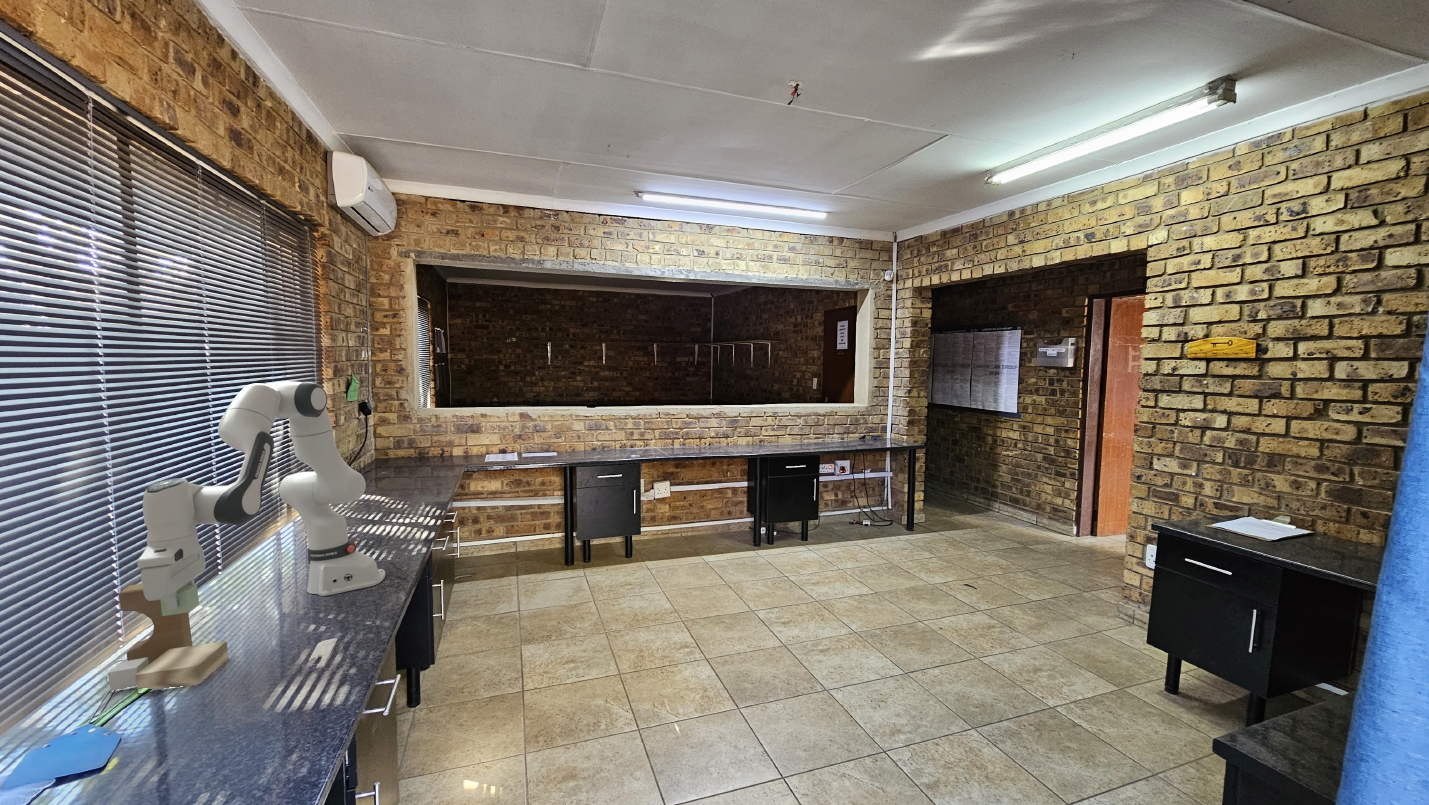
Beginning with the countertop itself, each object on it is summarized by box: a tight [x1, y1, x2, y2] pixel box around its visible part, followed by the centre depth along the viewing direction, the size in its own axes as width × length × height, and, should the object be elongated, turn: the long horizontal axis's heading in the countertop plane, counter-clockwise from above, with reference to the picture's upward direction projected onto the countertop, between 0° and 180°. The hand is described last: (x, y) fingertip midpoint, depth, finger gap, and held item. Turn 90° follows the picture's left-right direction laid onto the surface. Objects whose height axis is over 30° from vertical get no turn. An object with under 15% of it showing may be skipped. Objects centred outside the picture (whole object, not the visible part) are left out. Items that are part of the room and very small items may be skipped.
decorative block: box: [118, 583, 193, 664], centre depth 146 cm, size 11×6×20 cm, turn 115°
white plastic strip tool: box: [308, 637, 338, 669], centre depth 147 cm, size 5×15×1 cm, turn 22°
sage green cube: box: [160, 583, 200, 616], centre depth 138 cm, size 5×5×5 cm
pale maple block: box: [135, 641, 229, 691], centre depth 139 cm, size 12×12×5 cm
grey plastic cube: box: [107, 657, 149, 692], centre depth 135 cm, size 5×5×5 cm
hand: (180, 603), depth 138 cm, fingers closed on sage green cube, 5 cm apart
